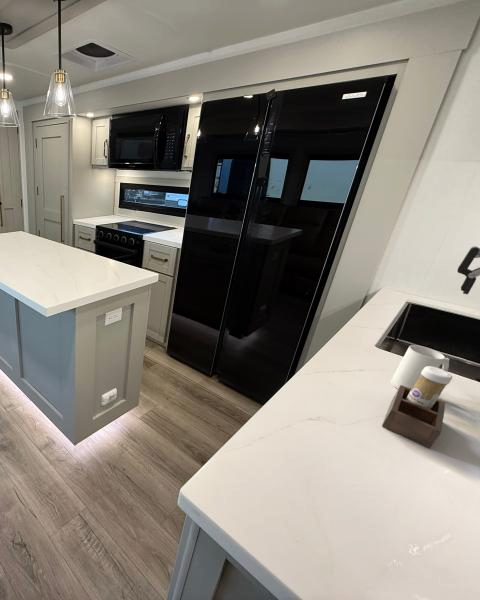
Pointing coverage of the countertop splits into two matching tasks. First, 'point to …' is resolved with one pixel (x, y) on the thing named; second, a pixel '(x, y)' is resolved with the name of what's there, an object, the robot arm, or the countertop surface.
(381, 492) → the countertop surface
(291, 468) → the countertop surface
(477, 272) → the robot arm
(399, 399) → the rack
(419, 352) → the mug
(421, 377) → the sprinkles bottle
